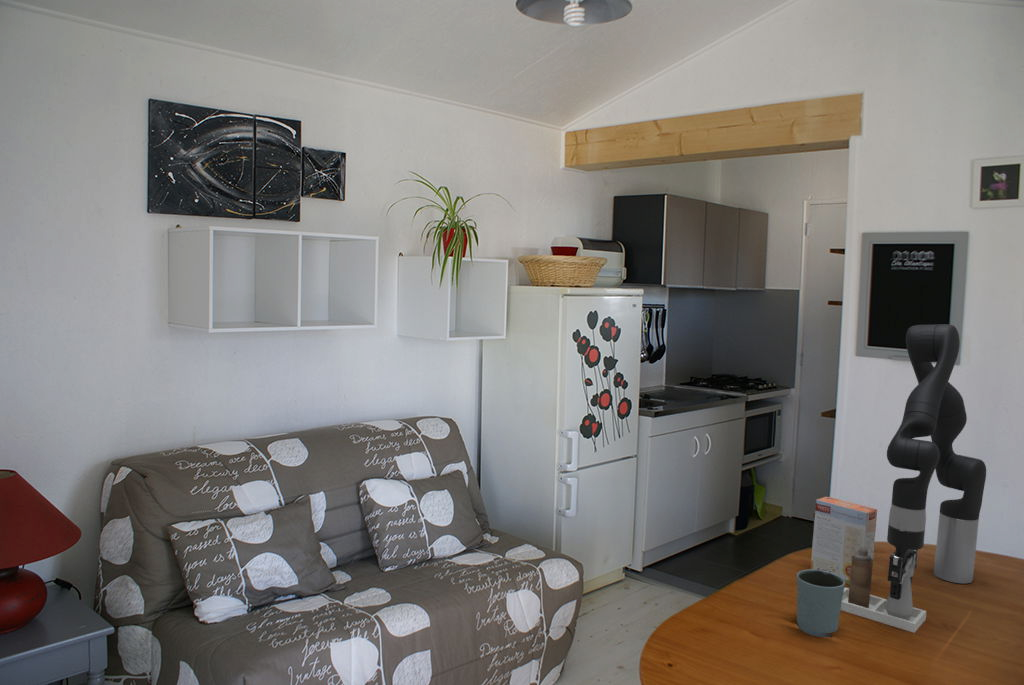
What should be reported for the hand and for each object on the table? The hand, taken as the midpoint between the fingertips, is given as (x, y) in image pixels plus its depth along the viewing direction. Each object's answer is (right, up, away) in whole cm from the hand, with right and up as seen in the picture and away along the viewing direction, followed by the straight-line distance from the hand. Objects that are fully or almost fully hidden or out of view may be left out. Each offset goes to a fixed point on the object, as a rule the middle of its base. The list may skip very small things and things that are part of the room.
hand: (900, 592), depth 183 cm
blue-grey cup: (-21, -7, -4) cm, 22 cm away
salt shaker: (0, -6, +1) cm, 7 cm away
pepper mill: (-7, -5, +6) cm, 11 cm away
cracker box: (-4, -5, +25) cm, 26 cm away
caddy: (-4, -7, +4) cm, 9 cm away
